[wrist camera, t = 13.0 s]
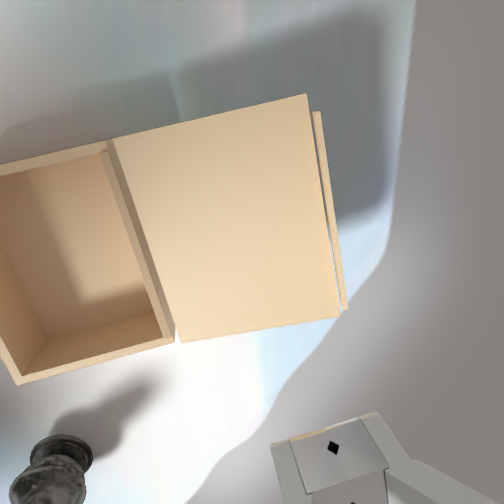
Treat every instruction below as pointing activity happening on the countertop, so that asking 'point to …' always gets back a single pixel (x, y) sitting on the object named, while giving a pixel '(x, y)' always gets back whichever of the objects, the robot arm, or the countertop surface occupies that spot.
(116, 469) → the countertop surface
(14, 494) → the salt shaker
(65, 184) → the mailer box
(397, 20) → the countertop surface
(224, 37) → the countertop surface
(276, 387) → the countertop surface
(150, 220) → the lid
